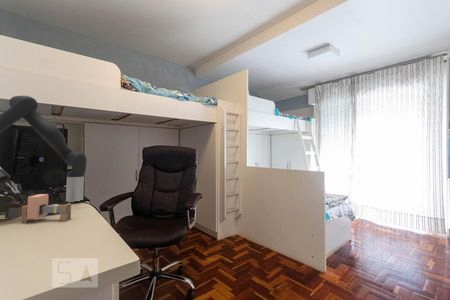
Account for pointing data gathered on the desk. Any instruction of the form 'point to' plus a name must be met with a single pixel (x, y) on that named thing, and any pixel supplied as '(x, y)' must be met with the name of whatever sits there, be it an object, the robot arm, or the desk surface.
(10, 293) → the desk surface
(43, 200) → the collar
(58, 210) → the grey metal bar
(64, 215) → the stand
